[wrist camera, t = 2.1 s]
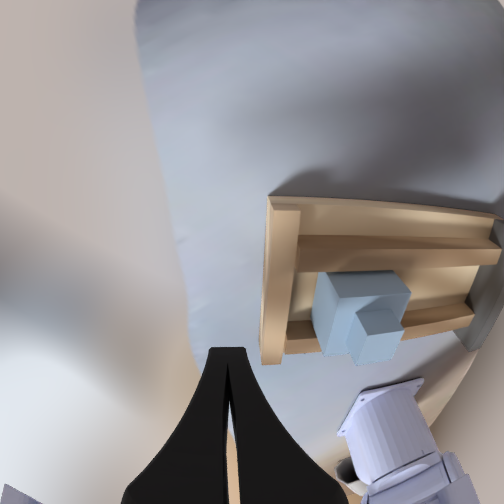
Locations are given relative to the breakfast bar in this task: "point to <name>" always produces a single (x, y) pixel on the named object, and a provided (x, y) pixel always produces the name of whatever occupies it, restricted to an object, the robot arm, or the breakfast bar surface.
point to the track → (380, 266)
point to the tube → (350, 476)
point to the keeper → (359, 314)
